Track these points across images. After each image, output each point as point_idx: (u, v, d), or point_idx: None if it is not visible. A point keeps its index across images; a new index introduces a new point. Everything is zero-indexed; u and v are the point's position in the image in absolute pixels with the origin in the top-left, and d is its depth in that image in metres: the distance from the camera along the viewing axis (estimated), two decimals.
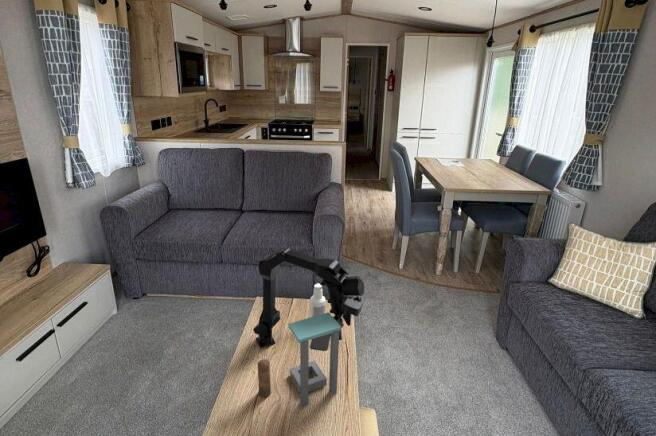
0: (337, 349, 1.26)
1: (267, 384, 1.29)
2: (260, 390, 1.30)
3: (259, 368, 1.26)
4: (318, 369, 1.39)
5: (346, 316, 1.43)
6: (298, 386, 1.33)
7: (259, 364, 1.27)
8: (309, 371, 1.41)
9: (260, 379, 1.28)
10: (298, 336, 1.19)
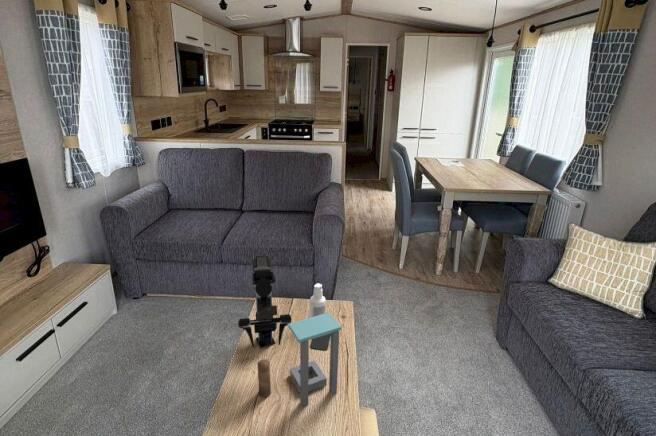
0: (337, 349, 1.26)
1: (267, 384, 1.29)
2: (260, 390, 1.30)
3: (259, 368, 1.26)
4: (318, 369, 1.39)
5: (279, 333, 1.37)
6: (298, 386, 1.33)
7: (259, 364, 1.27)
8: (309, 371, 1.41)
9: (260, 379, 1.28)
10: (298, 336, 1.19)
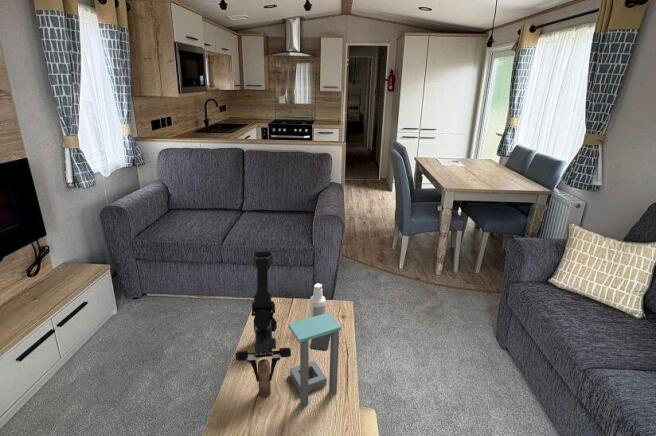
0: (337, 349, 1.26)
1: (267, 384, 1.29)
2: (260, 390, 1.30)
3: (259, 368, 1.26)
4: (318, 369, 1.39)
5: None
6: (298, 386, 1.33)
7: (259, 364, 1.27)
8: (309, 371, 1.41)
9: (260, 379, 1.28)
10: (298, 336, 1.19)
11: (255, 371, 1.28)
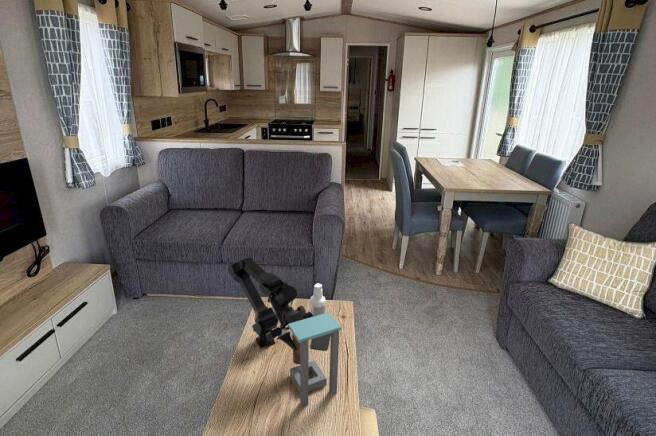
0: (337, 349, 1.26)
1: None
2: (297, 358, 1.37)
3: None
4: (318, 369, 1.39)
5: None
6: (298, 386, 1.33)
7: None
8: (309, 371, 1.41)
9: (298, 347, 1.36)
10: (298, 336, 1.19)
11: (291, 342, 1.35)
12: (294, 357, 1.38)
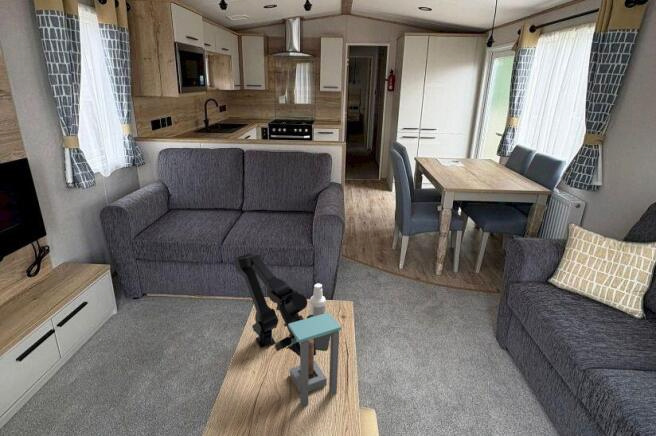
0: (337, 349, 1.26)
1: (313, 359, 1.34)
2: None
3: None
4: (318, 369, 1.39)
5: None
6: (298, 386, 1.33)
7: None
8: None
9: None
10: (298, 336, 1.19)
11: None
12: None
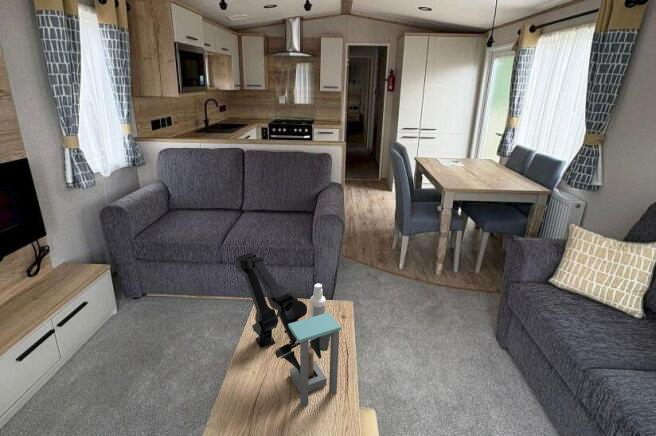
0: (337, 349, 1.26)
1: (313, 369, 1.36)
2: None
3: None
4: (318, 369, 1.39)
5: (315, 348, 1.39)
6: (298, 386, 1.33)
7: None
8: None
9: (308, 366, 1.34)
10: (298, 336, 1.19)
11: (296, 361, 1.31)
12: None
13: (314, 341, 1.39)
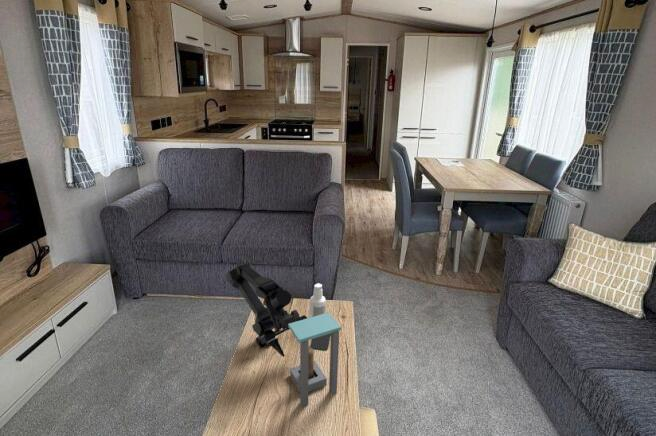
0: (337, 349, 1.26)
1: (313, 369, 1.36)
2: None
3: None
4: (318, 369, 1.39)
5: None
6: (298, 386, 1.33)
7: None
8: None
9: (308, 366, 1.34)
10: (298, 336, 1.19)
11: (279, 348, 1.37)
12: None
13: None
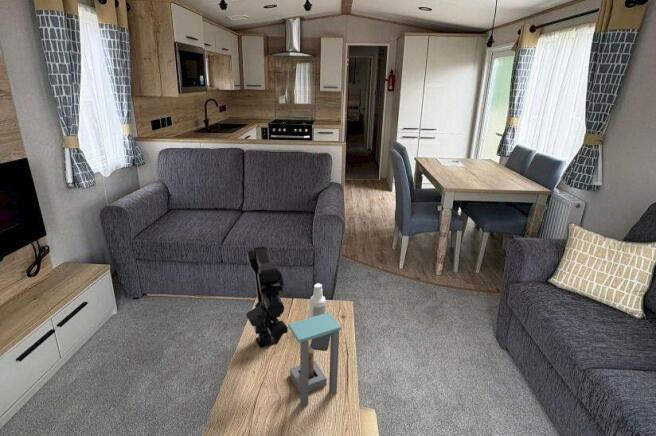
0: (337, 349, 1.26)
1: (313, 369, 1.36)
2: None
3: None
4: (318, 369, 1.39)
5: None
6: (298, 386, 1.33)
7: None
8: None
9: (308, 366, 1.34)
10: (298, 336, 1.19)
11: (263, 322, 1.43)
12: None
13: None
